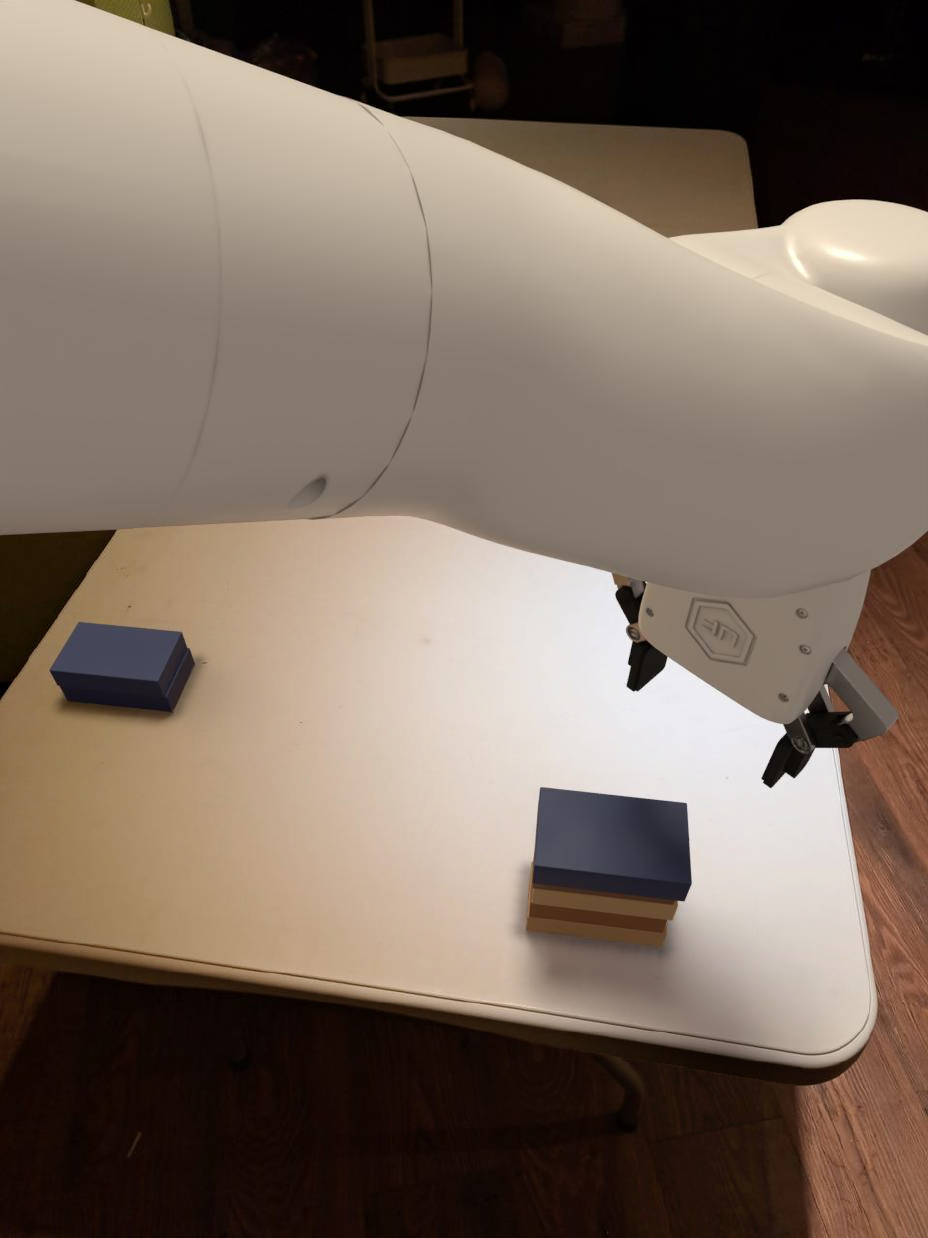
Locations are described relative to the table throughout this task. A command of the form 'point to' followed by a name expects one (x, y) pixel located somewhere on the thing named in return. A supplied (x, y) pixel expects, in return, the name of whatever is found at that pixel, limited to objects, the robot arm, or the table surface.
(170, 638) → the navy books
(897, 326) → the robot arm
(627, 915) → the tan books
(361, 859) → the table surface
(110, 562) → the table surface
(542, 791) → the navy book
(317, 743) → the table surface
